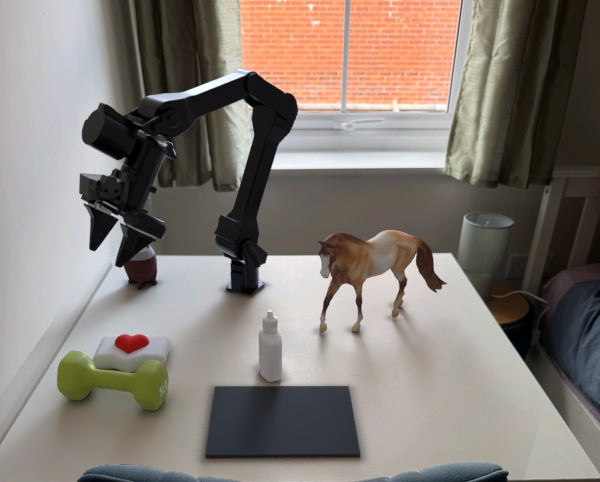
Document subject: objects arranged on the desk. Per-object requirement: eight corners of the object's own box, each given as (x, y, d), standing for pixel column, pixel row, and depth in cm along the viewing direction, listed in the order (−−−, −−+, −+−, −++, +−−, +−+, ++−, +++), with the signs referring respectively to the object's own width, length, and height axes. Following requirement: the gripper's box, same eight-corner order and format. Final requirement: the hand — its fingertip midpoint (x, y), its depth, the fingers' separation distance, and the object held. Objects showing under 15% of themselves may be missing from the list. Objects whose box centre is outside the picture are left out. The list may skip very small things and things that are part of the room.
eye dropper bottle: (285, 366, 104) (286, 304, 97) (280, 384, 100) (280, 320, 93) (260, 363, 105) (259, 302, 98) (254, 381, 100) (253, 318, 93)
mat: (215, 389, 98) (214, 386, 98) (348, 388, 99) (348, 385, 99) (205, 458, 84) (205, 455, 84) (360, 457, 85) (360, 454, 85)
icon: (85, 355, 98) (99, 325, 106) (90, 377, 100) (104, 346, 108) (161, 355, 98) (169, 325, 106) (164, 377, 101) (172, 346, 109)
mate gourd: (155, 290, 127) (146, 221, 118) (118, 289, 127) (106, 220, 118) (162, 275, 133) (154, 208, 124) (127, 274, 133) (116, 207, 124)
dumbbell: (175, 391, 97) (170, 353, 93) (156, 421, 91) (150, 381, 87) (81, 378, 100) (72, 341, 95) (57, 406, 93) (46, 368, 89)
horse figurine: (319, 350, 109) (324, 241, 97) (296, 332, 114) (298, 226, 102) (443, 309, 123) (461, 209, 111) (417, 295, 128) (432, 198, 116)
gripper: (70, 139, 100) (37, 226, 103) (127, 163, 89) (88, 260, 92) (125, 168, 109) (94, 248, 111) (183, 193, 98) (147, 281, 100)
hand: (104, 258), depth 103 cm, fingers open, 9 cm apart
